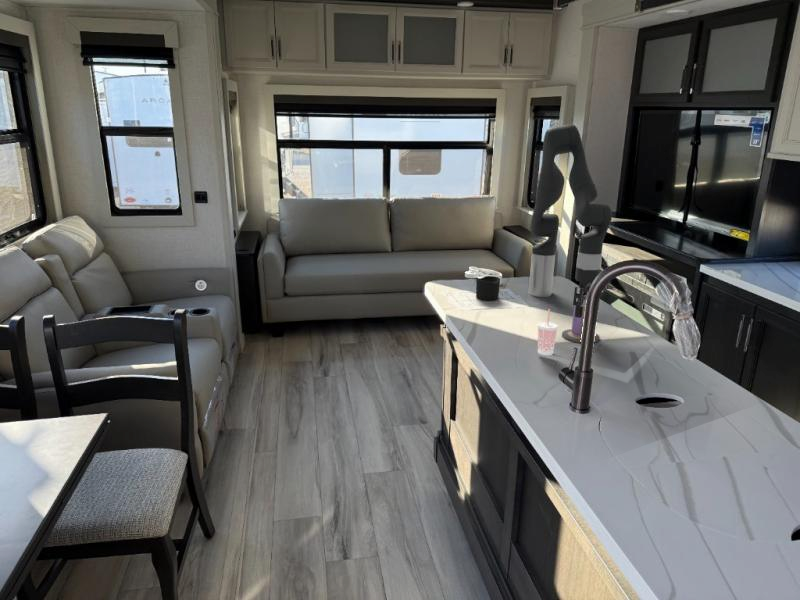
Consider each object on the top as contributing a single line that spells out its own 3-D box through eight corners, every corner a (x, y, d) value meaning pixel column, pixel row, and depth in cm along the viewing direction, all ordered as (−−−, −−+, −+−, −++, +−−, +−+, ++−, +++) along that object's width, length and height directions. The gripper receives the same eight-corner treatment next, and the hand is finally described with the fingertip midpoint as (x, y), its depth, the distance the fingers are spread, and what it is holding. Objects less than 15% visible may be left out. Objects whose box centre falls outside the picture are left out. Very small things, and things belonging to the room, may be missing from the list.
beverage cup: (559, 352, 173) (563, 309, 169) (549, 357, 168) (553, 313, 165) (541, 347, 177) (545, 305, 173) (531, 352, 172) (535, 309, 169)
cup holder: (460, 283, 257) (461, 267, 255) (481, 281, 261) (482, 265, 259) (482, 293, 239) (483, 277, 237) (504, 291, 243) (506, 275, 241)
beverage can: (570, 336, 185) (575, 292, 181) (572, 330, 190) (576, 288, 186) (589, 338, 183) (594, 294, 179) (590, 333, 188) (595, 290, 184)
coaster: (570, 329, 195) (570, 326, 195) (604, 336, 188) (604, 334, 187) (556, 337, 186) (556, 335, 185) (591, 346, 179) (592, 343, 178)
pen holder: (475, 298, 231) (476, 275, 228) (498, 300, 229) (499, 276, 227) (475, 305, 222) (476, 280, 219) (498, 306, 220) (500, 281, 218)
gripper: (585, 261, 188) (580, 307, 192) (568, 268, 177) (563, 317, 181) (607, 264, 183) (602, 311, 188) (592, 271, 172) (586, 321, 177)
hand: (583, 314), depth 185 cm, fingers open, 8 cm apart
